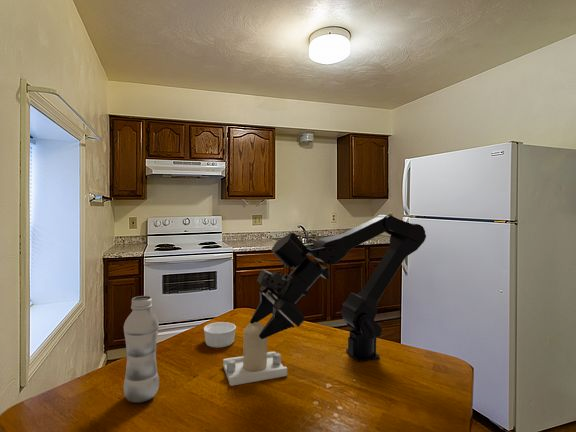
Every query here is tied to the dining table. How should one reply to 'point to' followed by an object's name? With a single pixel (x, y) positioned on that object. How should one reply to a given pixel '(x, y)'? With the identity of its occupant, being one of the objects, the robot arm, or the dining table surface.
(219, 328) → the ramekin
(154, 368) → the plastic bottle
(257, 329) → the candle
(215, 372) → the dining table surface
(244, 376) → the tray
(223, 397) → the dining table surface
